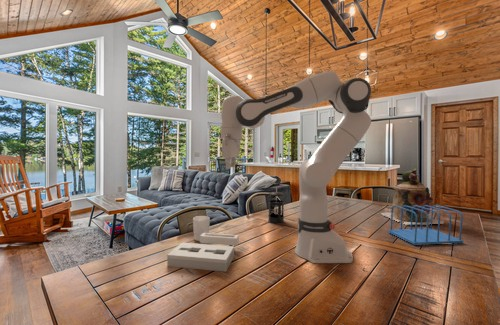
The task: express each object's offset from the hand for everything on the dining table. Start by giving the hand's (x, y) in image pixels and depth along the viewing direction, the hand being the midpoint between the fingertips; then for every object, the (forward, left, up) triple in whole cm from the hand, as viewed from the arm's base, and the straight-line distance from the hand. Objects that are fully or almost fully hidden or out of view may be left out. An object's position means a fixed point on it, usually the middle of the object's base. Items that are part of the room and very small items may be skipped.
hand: (230, 167), depth 104 cm
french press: (-17, -44, -35) cm, 58 cm away
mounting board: (+7, +15, -35) cm, 38 cm away
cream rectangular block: (+4, +2, -35) cm, 35 cm away
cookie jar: (-99, -63, -35) cm, 122 cm away
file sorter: (-90, -29, -35) cm, 101 cm away
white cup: (+16, -8, -35) cm, 39 cm away
